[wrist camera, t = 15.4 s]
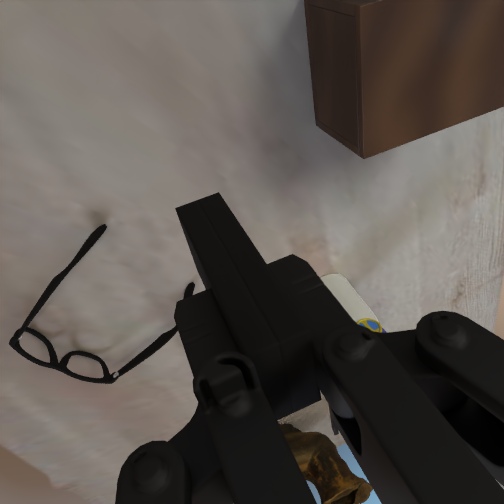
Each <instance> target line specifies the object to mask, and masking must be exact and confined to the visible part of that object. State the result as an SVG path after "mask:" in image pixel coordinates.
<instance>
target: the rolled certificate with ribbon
mask: <svg viewBox="0 0 504 504" xmlns="http://www.w3.org/2000/svg"><path fill="white" fill-rule="evenodd" d="M320 279H321V280H322V281H323V282H324V285H326V286H327V287H328V289H329V290H330V291H331V292H332V294H333V295H334V296H335V297H336V299H337V300H338V301H339V302H340V304H341V305H342V306H343V308H344V309H345V310H346V311H347V313H348V314H349V315H350V316H351V318H352V319H353V320H354V321H355V322H356V323H357V324H359V325H361V326H364V327H367V328H369V329H370V330H371V331H374V332H381V333H386V331H385V330H384V329H383V328H382V326H381V325H380V323H379V321H378V319H377V317H376V316H375V314H374V313H373V312H372V310H371V309H370V308H369V307H368V306H367V304H366V303H365V302H364V301H363V300H362V298H361V297H360V296H359V295H358V293H357V292H356V291H355V290H354V288H353V287H352V286H351V284H350V283H349V282H348V280H347V279H346V278H345V277H344V276H343V275H341V274H328V275H325V276H323V277H321V278H320Z"/></svg>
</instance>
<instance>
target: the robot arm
mask: <svg viewBox="0 0 504 504" xmlns="http://www.w3.org/2000/svg"><path fill="white" fill-rule="evenodd" d="M175 209H176V212H177V215H178V217H179V220H180V223H181V226H182V229H183V231H184V234H185V237H186V240H187V242H188V245H189V248H190V251H191V254H192V256H193V259H194V262H195V265H196V268H197V270H198V273H199V275H200V277H201V279H202V282H203V284H204V286H205V288H206V290H205V291H202V292H200V293H197V294H195V295H192V296H190V297H187V298H185V299H182V300H180V301H178V302H177V303H176V309H175V314H174V319H175V322H176V325H177V328H178V331H179V334H180V337H181V340H182V343H183V346H184V349H185V352H186V355H187V358H188V361H189V364H190V367H191V370H192V373H193V376H194V379H193V391H194V394H195V396H196V398H197V400H198V406H197V409H196V412H195V414H194V415H193V417H192V419H191V420H190V422H189V423H188V424H187V425H186V426H185V427H184V428H183V429H182V430H181V431H180V432H178V433H177V434H176V435H175V436H174V437H173V438H171V439H170V440H169V441H168V442H166V441H151V442H149V443H146V444H144V445H142V446H140V447H139V448H137V449H136V450H135V451H134V452H133V453H131V454H130V455H129V457H128V458H127V460H126V461H125V463H124V464H123V466H122V467H121V471H120V474H119V478H118V482H117V492H116V501H115V504H233V503H234V504H317V503H316V501H315V499H314V496H313V494H312V492H311V490H310V489H309V486H308V484H307V482H306V480H305V478H304V476H303V473H302V471H301V469H300V467H299V465H298V463H297V461H296V459H295V457H294V455H293V453H292V450H291V448H290V446H289V444H288V442H287V440H286V438H285V436H284V434H283V432H282V430H281V427H280V425H279V423H278V421H277V420H279V419H281V418H283V417H285V416H288V415H290V414H292V413H294V412H296V411H298V410H300V409H303V408H305V407H307V406H309V405H311V404H313V403H315V402H317V401H320V400H321V394H320V390H321V392H322V394H323V395H324V397H325V399H326V400H327V402H328V404H329V409H330V417H331V424H332V429H333V432H334V435H337V434H339V432H338V430H339V431H340V433H341V435H342V436H343V438H344V440H345V442H346V443H347V445H348V446H349V448H350V450H351V452H352V454H353V455H354V457H355V459H356V460H357V462H358V464H359V465H360V467H361V469H362V471H363V472H364V474H365V475H366V477H367V479H368V481H369V483H370V484H371V486H372V488H373V489H374V491H375V493H376V494H377V496H378V498H379V499H380V501H381V503H382V504H504V489H503V488H502V487H501V486H500V485H499V483H500V484H502V485H503V486H504V340H503V339H501V338H500V337H498V336H496V335H495V334H493V333H492V332H490V331H488V330H487V329H485V328H483V327H482V326H480V325H478V324H477V323H475V322H474V321H472V320H470V319H469V318H467V317H465V316H462V315H460V314H458V313H455V312H448V311H438V312H432V313H430V314H428V315H426V316H424V317H422V318H421V320H420V321H419V322H418V323H417V327H416V329H414V330H406V331H399V332H389V333H381V332H374V331H371V330H370V329H369V328H367V327H364V326H361V325H359V324H357V323H356V322H355V321H354V320H353V319H352V318H351V316H350V315H349V314H348V313H347V311H346V310H345V309H344V308H343V306H342V305H341V304H340V302H339V301H338V300H337V299H336V297H335V296H334V295H333V294H332V292H331V291H330V290H329V289H328V287H327V286H326V285H324V282H323V281H322V280H321V279H320V277H319V276H317V274H316V272H315V271H314V270H313V269H312V267H311V266H310V265H309V264H308V262H307V261H305V260H303V259H301V258H299V257H297V256H295V255H293V254H291V255H289V256H286V257H284V258H281V259H279V260H276V261H274V262H271V263H269V264H266V262H265V261H264V259H263V258H262V256H261V255H260V253H259V252H258V250H257V249H256V247H255V246H254V244H253V243H252V241H251V240H250V238H249V237H248V235H247V234H246V232H245V231H244V229H243V228H242V226H241V225H240V223H239V222H238V220H237V219H236V217H235V216H234V214H233V213H232V211H231V210H230V208H229V207H228V205H227V204H226V202H225V201H224V199H223V198H222V196H221V195H220V193H219V192H218V193H216V194H213V195H210V196H207V197H205V198H202V199H199V200H197V201H194V202H191V203H188V204H186V205H183V206H180V207H177V208H175ZM494 478H495V479H496V480H497V481H498V482H499V483H498V482H497V481H496V480H495V479H494Z"/></svg>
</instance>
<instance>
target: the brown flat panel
mask: <svg viewBox="0 0 504 504" xmlns="http://www.w3.org/2000/svg"><path fill="white" fill-rule="evenodd" d="M355 21H356V54H357V86H358V119H359V151H360V157H361V158H363V159H365V158H368V157H371V156H373V155H376V154H379V153H381V152H384V151H387V150H389V149H392V148H395V147H397V146H400V145H403V144H405V143H408V142H411V141H413V140H416V139H419V138H421V137H424V136H427V135H429V134H432V133H435V132H437V131H440V130H443V129H445V128H448V127H451V126H453V125H456V124H459V123H461V122H464V121H467V120H469V119H472V118H475V117H477V116H480V115H483V114H485V113H488V112H491V111H493V110H496V109H499V108H501V107H504V0H370V1H367V2H363V3H360V4H357V5H355Z"/></svg>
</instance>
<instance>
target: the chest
mask: <svg viewBox="0 0 504 504" xmlns="http://www.w3.org/2000/svg"><path fill="white" fill-rule="evenodd" d="M367 1H370V0H304V5H305V15H306V26H307V36H308V46H309V57H310V67H311V78H312V88H313V98H314V109H315V119H316V126H318V127H319V128H320V129H322V130H323V131H325V132H326V133H328V134H329V135H330V136H332V137H333V138H335V139H336V140H337V141H339V142H340V143H342V144H343V145H344V146H346V147H347V148H349V149H350V150H352V151H353V152H354V153H356V154H357V155H359V156H360V151H359V119H358V86H357V54H356V21H355V5H357V4H360V3H363V2H367Z"/></svg>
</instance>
